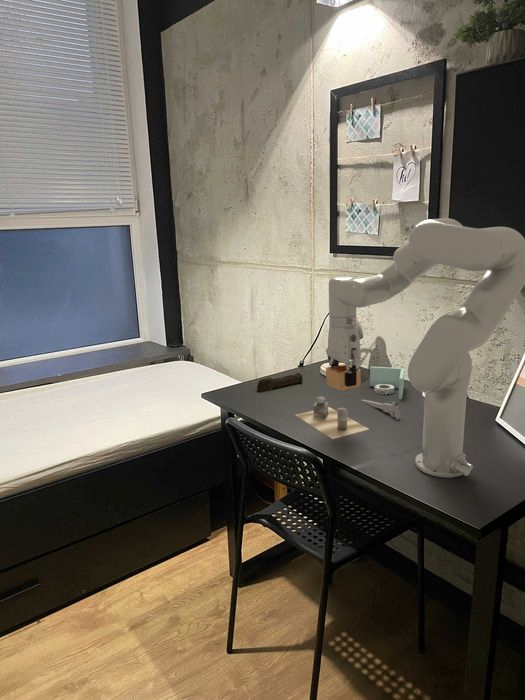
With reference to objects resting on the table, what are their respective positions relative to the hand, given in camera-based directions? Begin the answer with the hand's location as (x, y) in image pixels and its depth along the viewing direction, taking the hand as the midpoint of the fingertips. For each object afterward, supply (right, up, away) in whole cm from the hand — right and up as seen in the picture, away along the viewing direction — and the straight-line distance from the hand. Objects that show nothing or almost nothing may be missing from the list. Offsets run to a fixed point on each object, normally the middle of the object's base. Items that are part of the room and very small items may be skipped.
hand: (343, 381), depth 147 cm
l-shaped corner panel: (+21, -6, +36) cm, 42 cm away
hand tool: (-17, -5, +45) cm, 48 cm away
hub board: (-2, -14, +9) cm, 17 cm away
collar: (0, -1, 0) cm, 1 cm away
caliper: (+14, -11, +19) cm, 26 cm away
